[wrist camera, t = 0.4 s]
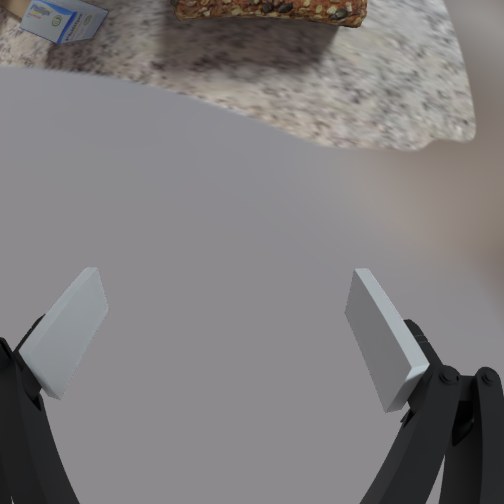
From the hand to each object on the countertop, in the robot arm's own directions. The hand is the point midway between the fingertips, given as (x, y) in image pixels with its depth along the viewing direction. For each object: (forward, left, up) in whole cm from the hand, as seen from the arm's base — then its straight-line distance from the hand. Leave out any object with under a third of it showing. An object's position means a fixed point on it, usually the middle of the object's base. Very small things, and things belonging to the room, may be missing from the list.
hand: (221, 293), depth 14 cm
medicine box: (+2, -28, -28) cm, 39 cm away
